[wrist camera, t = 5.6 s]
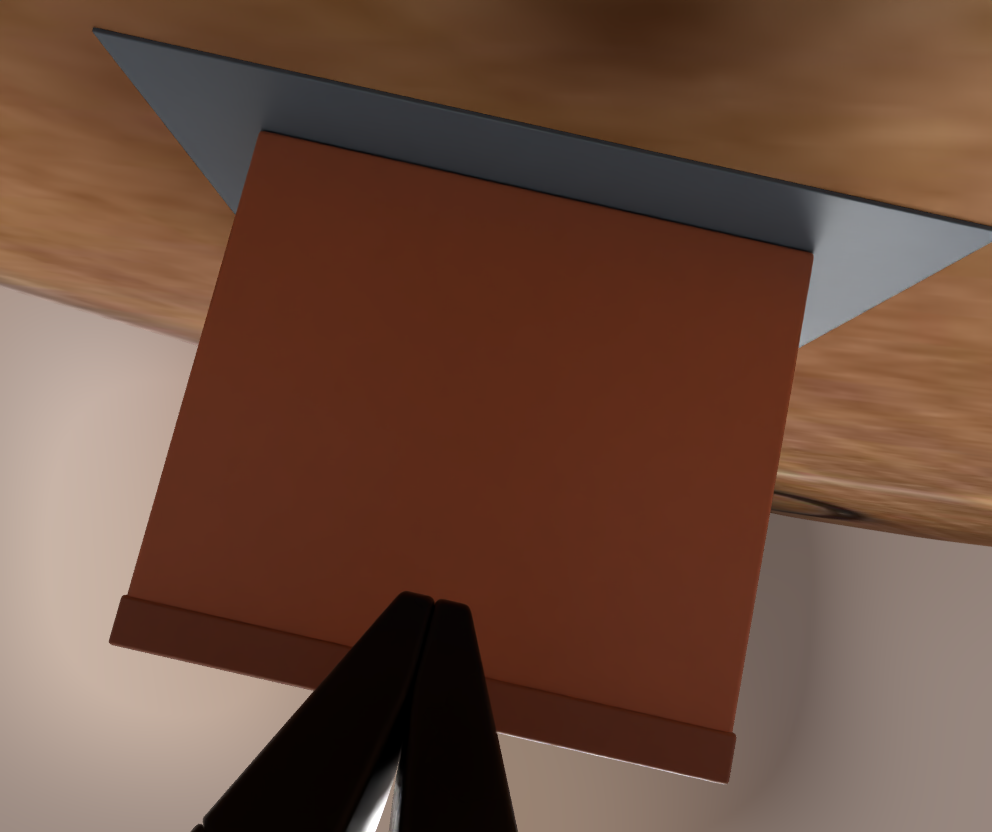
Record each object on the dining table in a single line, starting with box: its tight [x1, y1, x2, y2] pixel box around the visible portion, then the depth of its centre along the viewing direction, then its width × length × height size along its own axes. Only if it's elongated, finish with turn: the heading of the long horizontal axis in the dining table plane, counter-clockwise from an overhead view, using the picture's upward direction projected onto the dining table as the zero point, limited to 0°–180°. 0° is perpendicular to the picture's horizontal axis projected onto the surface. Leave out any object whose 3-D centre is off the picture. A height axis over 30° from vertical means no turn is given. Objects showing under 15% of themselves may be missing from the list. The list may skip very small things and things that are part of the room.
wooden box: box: [109, 131, 814, 784], centre depth 20 cm, size 14×10×9 cm
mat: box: [92, 27, 992, 348], centre depth 24 cm, size 25×14×1 cm, turn 179°
